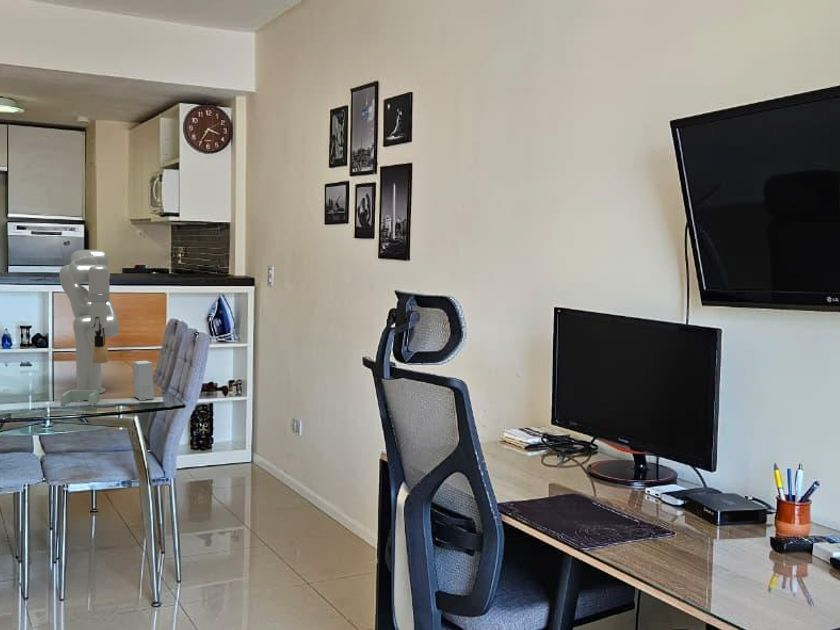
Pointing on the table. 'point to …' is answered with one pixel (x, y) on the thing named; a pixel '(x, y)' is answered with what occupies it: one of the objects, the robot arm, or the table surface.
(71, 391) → the u rest
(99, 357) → the bottle
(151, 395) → the skincare box
